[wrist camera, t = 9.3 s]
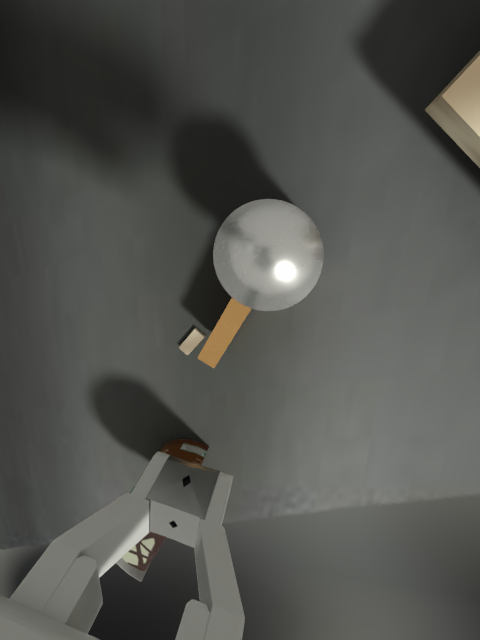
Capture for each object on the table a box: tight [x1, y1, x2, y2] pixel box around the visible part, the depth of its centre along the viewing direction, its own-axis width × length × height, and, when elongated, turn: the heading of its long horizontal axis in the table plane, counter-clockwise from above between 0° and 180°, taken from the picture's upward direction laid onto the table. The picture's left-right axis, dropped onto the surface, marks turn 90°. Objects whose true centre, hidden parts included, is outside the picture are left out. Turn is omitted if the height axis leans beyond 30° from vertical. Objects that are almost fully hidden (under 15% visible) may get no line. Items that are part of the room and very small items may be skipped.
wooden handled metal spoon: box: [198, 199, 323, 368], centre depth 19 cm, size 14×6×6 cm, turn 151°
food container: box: [116, 439, 209, 582], centre depth 30 cm, size 12×6×10 cm, turn 156°
